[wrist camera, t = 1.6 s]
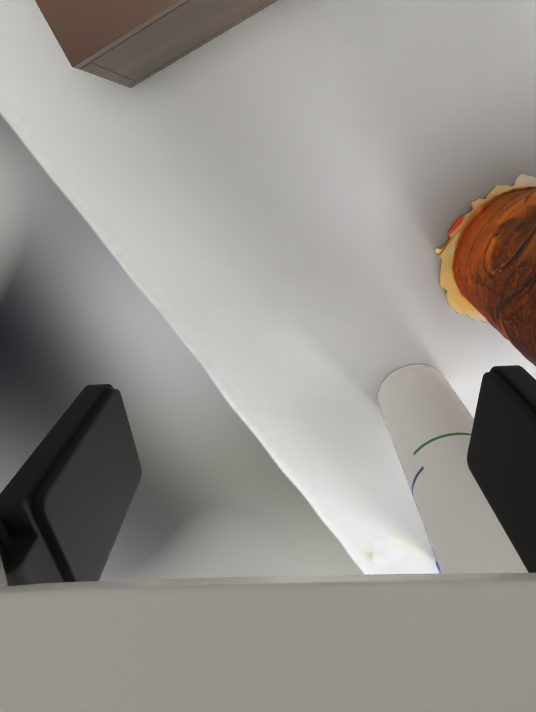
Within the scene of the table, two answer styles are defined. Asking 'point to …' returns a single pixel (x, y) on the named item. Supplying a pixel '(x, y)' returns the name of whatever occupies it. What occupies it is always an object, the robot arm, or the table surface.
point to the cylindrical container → (444, 472)
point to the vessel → (496, 263)
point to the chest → (171, 38)
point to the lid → (99, 23)
